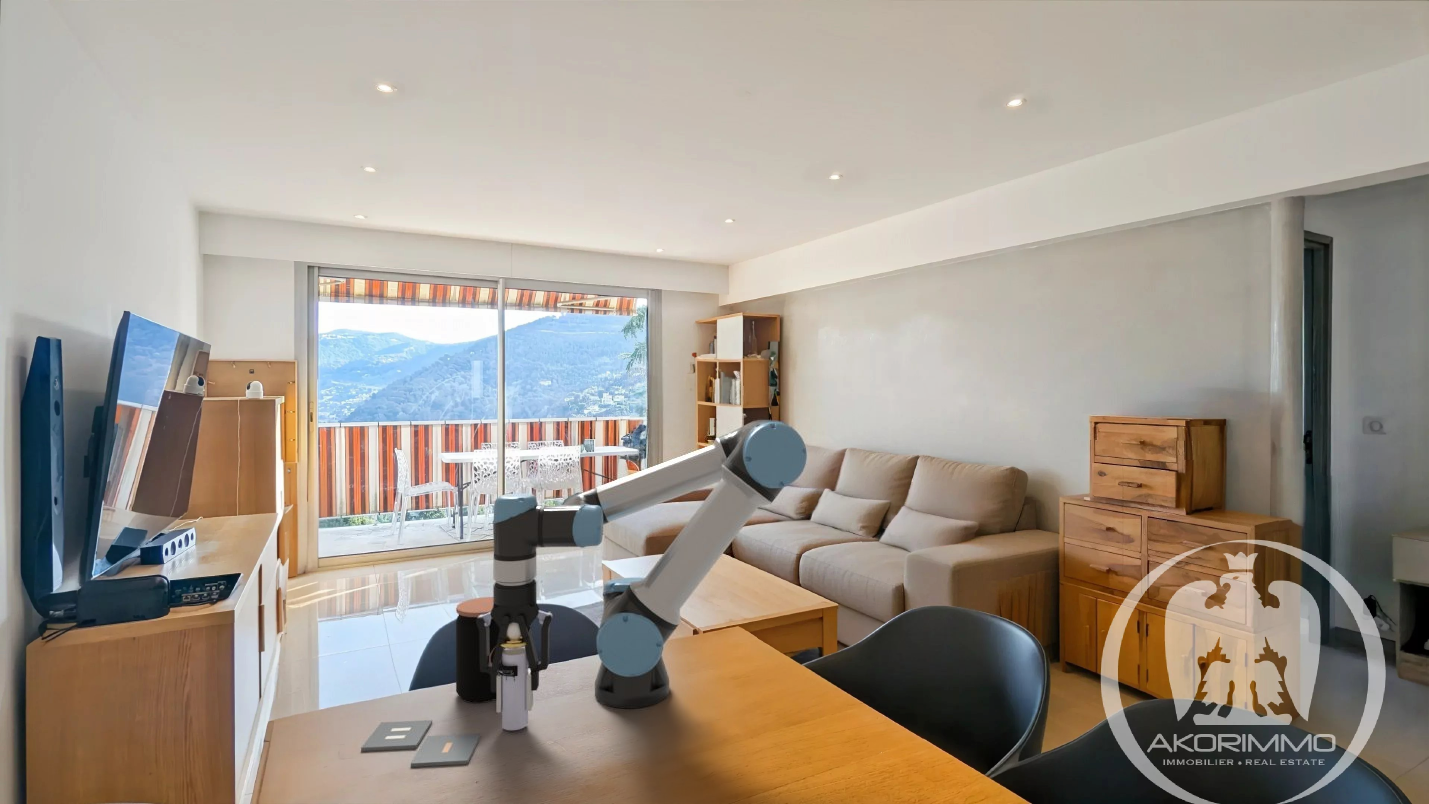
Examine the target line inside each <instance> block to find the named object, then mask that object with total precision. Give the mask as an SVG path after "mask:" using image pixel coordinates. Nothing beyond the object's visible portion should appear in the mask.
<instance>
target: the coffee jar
mask: <svg viewBox="0 0 1429 804" xmlns="http://www.w3.org/2000/svg"><path fill="white" fill-rule="evenodd" d="M492 608H493V596H486V597H485V596H484V597H482V596H481V597H477V598H472V599H468V600H464V601H462V602H460V603H459V604H457V605H456V608H455V609H456V610H455V611H456V613H457V614H458V615H457V618H456V621H455V655H456V656H455V661H456V662H455V692H456V693H457V696H458V697H459V698H460V699H461V700H462V701H464V702H467V703H473V704H476V703H477V704H478V703H479V704H480V703H487V702H492V701H495V700H497V692H491V676H490V674H489V673H487V672H481V671H480V641H479V629H478V626H477V624H476V619H477V618H478V617H479V615H480V614H487V613H489V612H491V610H492ZM499 632H500V628H499V626H498V625H497V624H496V623H495V621H494V620H493V619H491V623H490V625H489V648H490V663H492V662H493V658H494V654H495V650H496V646H497V641H498V636H499ZM504 649H506V648H504ZM501 661H502V660H501ZM501 664H502V662H501ZM500 666H501V665H500ZM501 667H502V666H501ZM500 670H501V669H500ZM500 670H499V671H500Z"/></svg>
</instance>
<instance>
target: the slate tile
mask: <svg viewBox="0 0 1429 804" xmlns="http://www.w3.org/2000/svg"><path fill="white" fill-rule="evenodd" d="M481 736H482V735H481V732H480V733H477V732H476V733H461V734H444V735H443V734H440V735H438V734H437V735H427V736H426V738H425V740H424V741H423V742H422V745H421V746H420V748H419V750H417V753H416V754H415V756H414V757H413V759H412V760H411V762H410V768H419V767H435V766H438V767H439V766H454V765H455V766H456V765H468V764H469V762H470V760H471V758H472V756H473V755H474V751H475V750H476V747H477V745H478V743H479V741H480V739H481Z"/></svg>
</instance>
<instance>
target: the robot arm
mask: <svg viewBox="0 0 1429 804" xmlns="http://www.w3.org/2000/svg"><path fill="white" fill-rule="evenodd" d="M807 456H808V455H807V447H806V444H805V441H804V440H803V438H802V436H801V435H800V434H799V432H798V431H797V430H796V429H795V428H793V426H790V425H789V424H787V423H786V422H784V421H781V420H776V419H775V420H771V419H757V420H753V421H751V422H749V423H747V424H745V425H742V426H741V427H739V428H737V429H735V430H733V431H731V432H729V433H726V434H724V435H720V436H718V437H715V438H714V441H713V443H712V444H711V445H707V446H706V447H703V448H700V449H697V450H694V451H692V452H689V453H687V454H684V455H682V456H678V457H675V458H673V459H670V460H667V461H665V462H662V463H659V464H656V465H654V466H651V467H648V468H646V469H642V470H640V471H638V472H635V473H632V474H629V475H627V476H623V477H621V478H618V479H615V480H613V481H610V482H607V483H604V484H603V485H599V486H597V487H595V488H592V489H589V490H586V491H583V492H575V493H573V494H571V495H569V496H567V498H565V499H564V500H563V502H562V503H561V505H557V504H556V505H555V504H554V505H542V504H538V501H537V496H536V495H535V494H532V493H524V492H523V493H520V492H519V493H518V492H517V493H508V494H503V495H502V494H501V495H499V496H498V497H497V498H496V499H495V500H494V506H493V507H494V508H493V520H492V528H493V530H492V532H493V536H492V537H493V563H492V564H493V565H492V566H493V570H492V575H493V576H492V577H493V580H494V583H493V585H492V586H493V587H492V588H493V589H492V591H493V592H492V595H493V596H492V597H493V608H492V610H491V612H489V613H487V614H480V615H479V617H478V618H477V619H476V624H477V626H478V629H479V641H480V671H481V672H487V673H489V674H490V676H491V692H497V699H496V713H502V675H500V674H499V672H501V671H499V663H500V664H501V660H502V652H503V650H504V648H502V647H500V646H499V643H502V642H505V639H506V638H507V636H506V633H507V628H508V625H509V624H511V623H518V625H519V628H520V632H521V636H522V639H523V642H529V645H527V646H524V647H525V650H526V654H527V658H528V673H527V675H526V711H528V712H531V711H532V708H533V705H534V691H538V689H539V685H540V672H541V671H546V670H547V669H548V668H549V667H548V666H549V664H550V640H551V639H550V635H551V633H550V631H551V628H550V627H551V626H550V625H551V622H552V619H553V617H554V612H553V611H548V612H546V611H545V610H544V611H543V610H541V609H540V607H539V605H538V603H537V580H536V579H535V578H536V577H537V575H538V574H537V548H582V549H584V548H587V547H596V546H600V544H601V543H602V542H603V538H604V525H605V524H608V523H611V522H612V521H616V520H618V519H619V520H620V519H621V518H624V517H626V516H630V515H633V514H636V513H637V512H641V511H643V510H645V509H649V508H651V507H654V506H658V505H660V504H662V503H665V502H668V501H671V500H674V499H676V498H678V497H682V496H684V495H687V494H689V493H692V492H695V491H698V490H700V489H703V488H706V487H709V486H711V485H714V484H716V483H717V484H716V485H715V487H714V488H713V489H712V491H711V492H710V493H709V494H708V496H707V497H706V498H705V500H704V501H703V502H702V503H701V504H700V506H699V508H698V509H697V510H696V511H695V513H693V515H692V517H691V518H690V519H689V520H688V522H687V524H685V526H684V527H683V528H682V530H681V531H680V532H679V533H678V535H677V536H676V537H675V539H673V541H672V543H670V545H669V546H668V547H667V549H666V550H665V552H664V553H663V554H662V556H661V557H660V558H659V559H658V560H657V562H656V563H655V565H653V567H652V568H651V570H650V571H649V572H648V574H647V575H646V576H645V577H640V576H639V577H636V576H635V577H634V576H633V577H622V578H621V577H620V578H614V579H610V580H608V581H606V582H605V583H604V586H603V592H602V597H603V610H602V616H601V620H600V625H599V627H598V630H597V633H596V637H595V642H596V643H595V644H596V650H597V654H598V656H599V659H600V666H599V669H598V672H597V675H596V679H595V683H594V697H595V699H596V700H597V701H598V702H600V703H601V704H602V705H603V704H604V706H608V707H612V708H619V709H638V708H644V707H645V708H646V707H649V706H652V705H655V704H657V703H660V702H662V701H663V700H665V699H666V698H667V697H668V696H669V693H670V677H669V675H668V671H667V668H666V665H665V661H664V659H663V658H664V657H663V656H662V655H663V652H664V645H665V644H666V642H667V641H668V639H670V636H672V634H673V633H674V631H675V630H676V629H677V628H678V626H679V625H680V623H681V621H682V619H681V608H683V606H684V605H685V604H686V602H687V600H688V599H689V598H690V597H691V595H692V594H693V593H694V592H695V590H696V589H697V588H698V587H699V585H700V584H701V583H702V581H703V580H704V579H705V578H706V576H707V575H708V573H709V572H710V571H711V569H712V568H714V566H715V564H716V563H717V561H718V560H719V559H720V558H721V557H722V555H723V554H724V552H725V551H726V549H728V547H729V546H730V545H731V543H732V542H733V541H734V540H735V539H736V537H737V535H738V534H739V533H740V531H741V530H742V529H743V528H744V526H745V525H746V524H747V523H748V521H749V519H751V517H752V516H753V514H754V513H755V512H756V511H757V509H758V508H759V507H761V506H766V505H771V504H773V502H774V501H775V499H776V498H777V497H778V496H779V494H780V493H781V491H782V490H783V489H784V488H786V487H789V486H790V485H791V484H793V483H795V482H796V480H798V479H799V477H801V475H802V473H803V472H804V470H805V467H806V465H807V460H808V457H807ZM536 618H538V619H539V620H538V622H539V625H541V631H540V661H539V657H538V653H537V650H536V645H535V641H534V638H533V633H532V627H531V626H532V624H533V622H534V621H535V620H536ZM491 619H493V620H494V621H495V623H496V624H497V625H498V626H499V628H500V632H499V636H498V641H497V646H496V650H495V654H494V658H493V662H492V663H490V648H489V625H490V623H491ZM499 661H500V662H499ZM501 673H502V672H501ZM499 675H500V676H499Z"/></svg>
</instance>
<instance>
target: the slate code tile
mask: <svg viewBox="0 0 1429 804" xmlns="http://www.w3.org/2000/svg"><path fill="white" fill-rule="evenodd" d="M432 725H433V720H432V719H427V720H405V721H389V722H388V721H387V722H386V721H385V722H380V723H379V725H377V727H376V728H375V730H374V731H373V732H372V733H371V735H370V736H369V737H368V738H367V739H366V741H365V742H364V744H363V745H362V746H361V747H360V751H361V752H371V751H372V752H374V751H389V750H394V751H395V750H410V749H417V748H418V747H419V745H420V743H421V742H422V740H423V739H424V738H425V736H426V734H427V733H428V731H429V729H430V728H431V727H432Z"/></svg>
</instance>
